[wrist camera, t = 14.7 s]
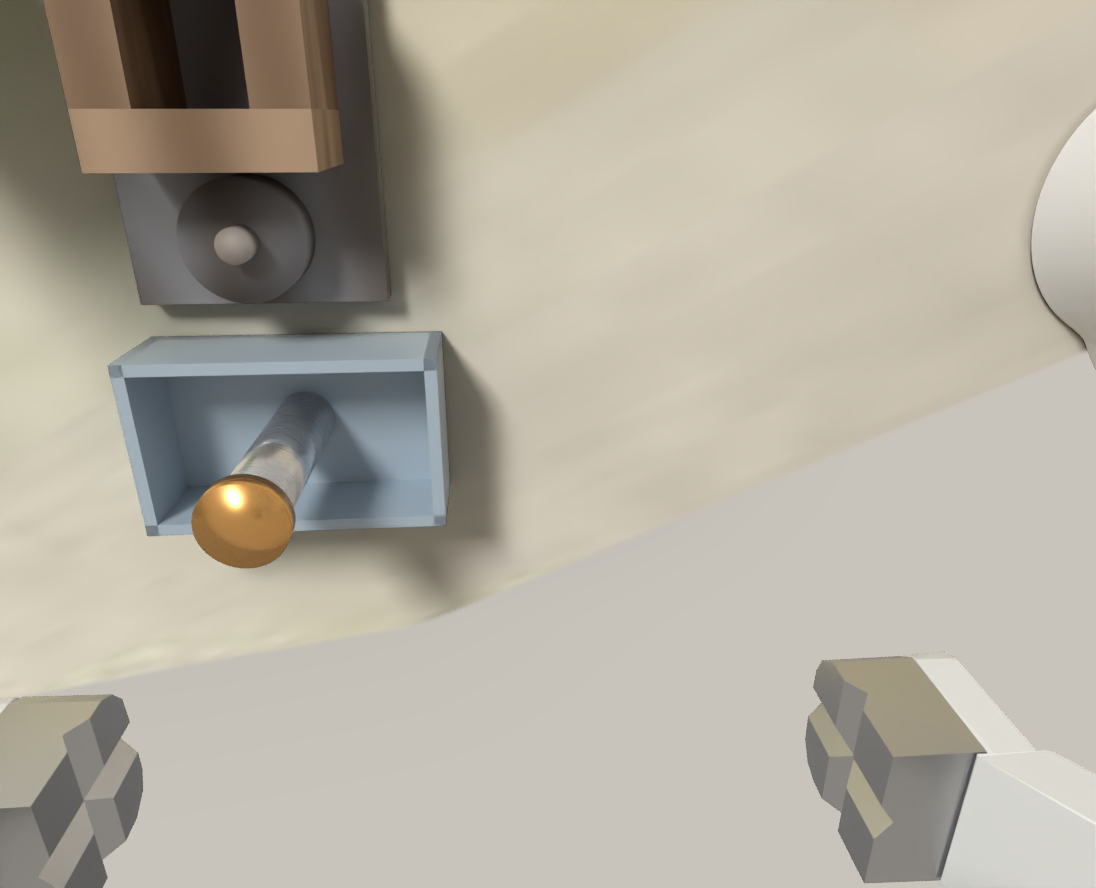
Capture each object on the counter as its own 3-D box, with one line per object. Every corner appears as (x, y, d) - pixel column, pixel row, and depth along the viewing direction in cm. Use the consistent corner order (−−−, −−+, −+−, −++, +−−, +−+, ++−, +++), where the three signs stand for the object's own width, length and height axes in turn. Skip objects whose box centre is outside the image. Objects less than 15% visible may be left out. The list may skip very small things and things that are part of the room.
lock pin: (338, 383, 41) (283, 483, 30) (346, 448, 42) (295, 566, 31) (266, 384, 41) (183, 486, 30) (276, 450, 42) (200, 569, 31)
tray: (441, 331, 41) (435, 358, 36) (450, 483, 44) (445, 525, 40) (151, 336, 40) (107, 365, 35) (183, 491, 43) (147, 536, 39)
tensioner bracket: (362, -70, 34) (330, -117, 27) (391, 294, 40) (371, 331, 33) (77, -74, 33) (-32, -124, 26) (153, 298, 39) (82, 337, 32)
